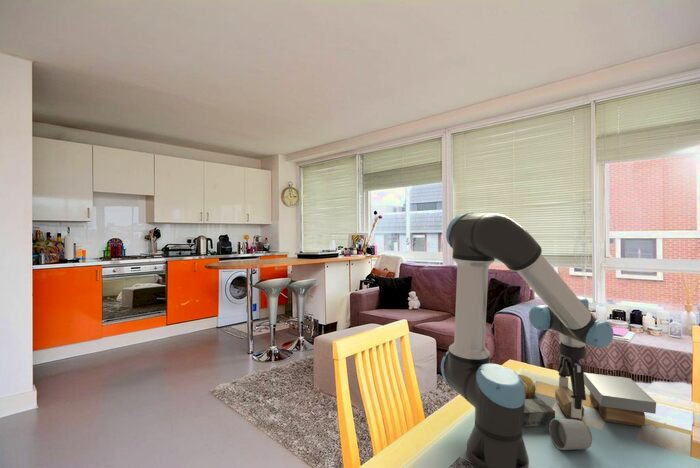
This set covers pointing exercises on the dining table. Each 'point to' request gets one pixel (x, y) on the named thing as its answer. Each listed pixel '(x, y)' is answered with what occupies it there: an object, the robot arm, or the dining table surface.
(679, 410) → the dining table surface
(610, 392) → the slab
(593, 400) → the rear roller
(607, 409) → the front roller
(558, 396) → the loose roller
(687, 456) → the dining table surface
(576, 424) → the ceramic mug
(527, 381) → the bread roll
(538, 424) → the stone block
